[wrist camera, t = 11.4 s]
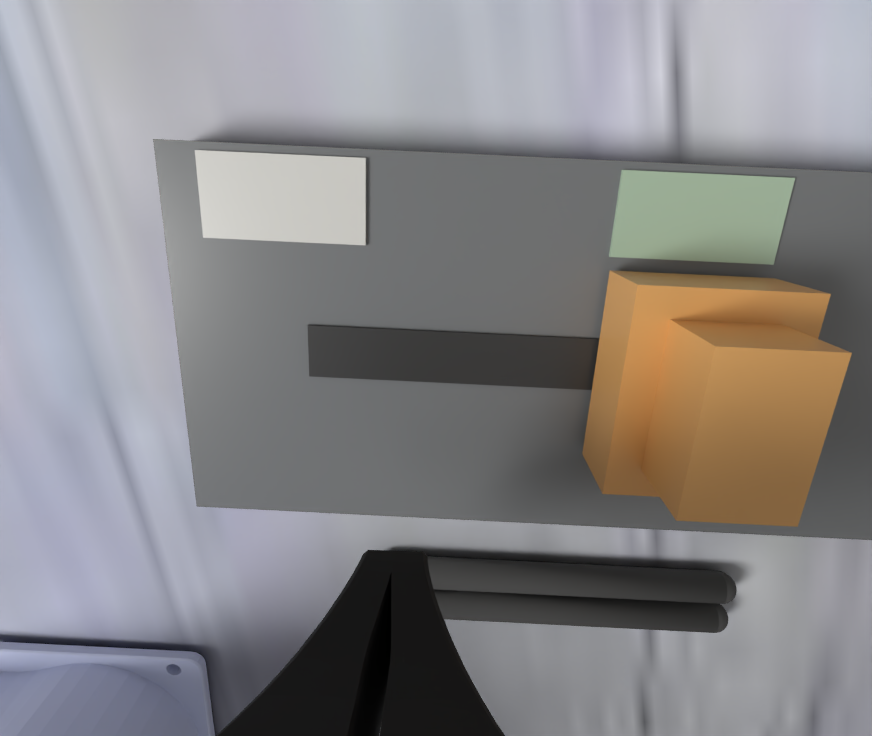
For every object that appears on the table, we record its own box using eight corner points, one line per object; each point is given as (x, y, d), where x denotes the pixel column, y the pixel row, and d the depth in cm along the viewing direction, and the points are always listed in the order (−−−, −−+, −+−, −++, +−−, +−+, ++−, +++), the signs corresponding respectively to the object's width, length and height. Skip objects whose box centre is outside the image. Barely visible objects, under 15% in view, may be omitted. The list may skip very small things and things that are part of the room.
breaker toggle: (582, 453, 14) (629, 548, 11) (609, 270, 13) (677, 304, 9) (728, 461, 14) (827, 558, 11) (774, 278, 13) (911, 316, 9)
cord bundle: (371, 599, 18) (367, 621, 18) (372, 547, 18) (368, 567, 17) (715, 617, 18) (730, 640, 17) (729, 565, 18) (745, 586, 17)
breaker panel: (217, 480, 17) (195, 508, 16) (183, 143, 14) (150, 138, 12) (839, 510, 17) (878, 542, 15) (951, 179, 14) (1014, 178, 12)
